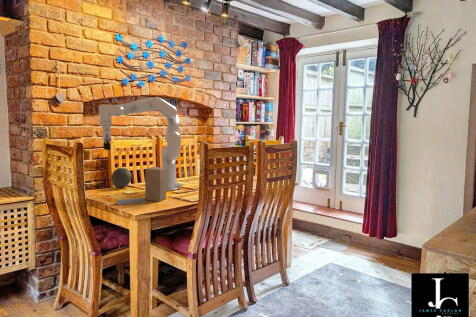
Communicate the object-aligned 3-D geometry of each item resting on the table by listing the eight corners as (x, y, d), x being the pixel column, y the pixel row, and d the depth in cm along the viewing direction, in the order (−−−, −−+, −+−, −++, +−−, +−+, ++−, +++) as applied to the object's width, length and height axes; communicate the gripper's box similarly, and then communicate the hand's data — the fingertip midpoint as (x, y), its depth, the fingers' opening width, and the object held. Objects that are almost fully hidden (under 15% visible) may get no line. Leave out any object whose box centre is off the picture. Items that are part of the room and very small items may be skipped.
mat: (143, 198, 231) (143, 197, 231) (147, 202, 218) (147, 202, 218) (116, 200, 224) (116, 199, 224) (117, 205, 211) (117, 204, 211)
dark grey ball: (121, 190, 256) (120, 169, 254) (107, 188, 262) (106, 168, 261) (135, 187, 268) (135, 167, 267) (122, 185, 275) (121, 166, 273)
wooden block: (160, 201, 221) (160, 169, 219) (145, 200, 223) (145, 168, 221) (166, 198, 231) (166, 167, 229) (152, 197, 233) (152, 166, 231)
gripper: (113, 123, 232) (114, 150, 234) (110, 123, 247) (111, 148, 249) (101, 124, 229) (102, 150, 231) (98, 123, 244) (99, 148, 246)
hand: (106, 149), depth 240 cm, fingers open, 9 cm apart
